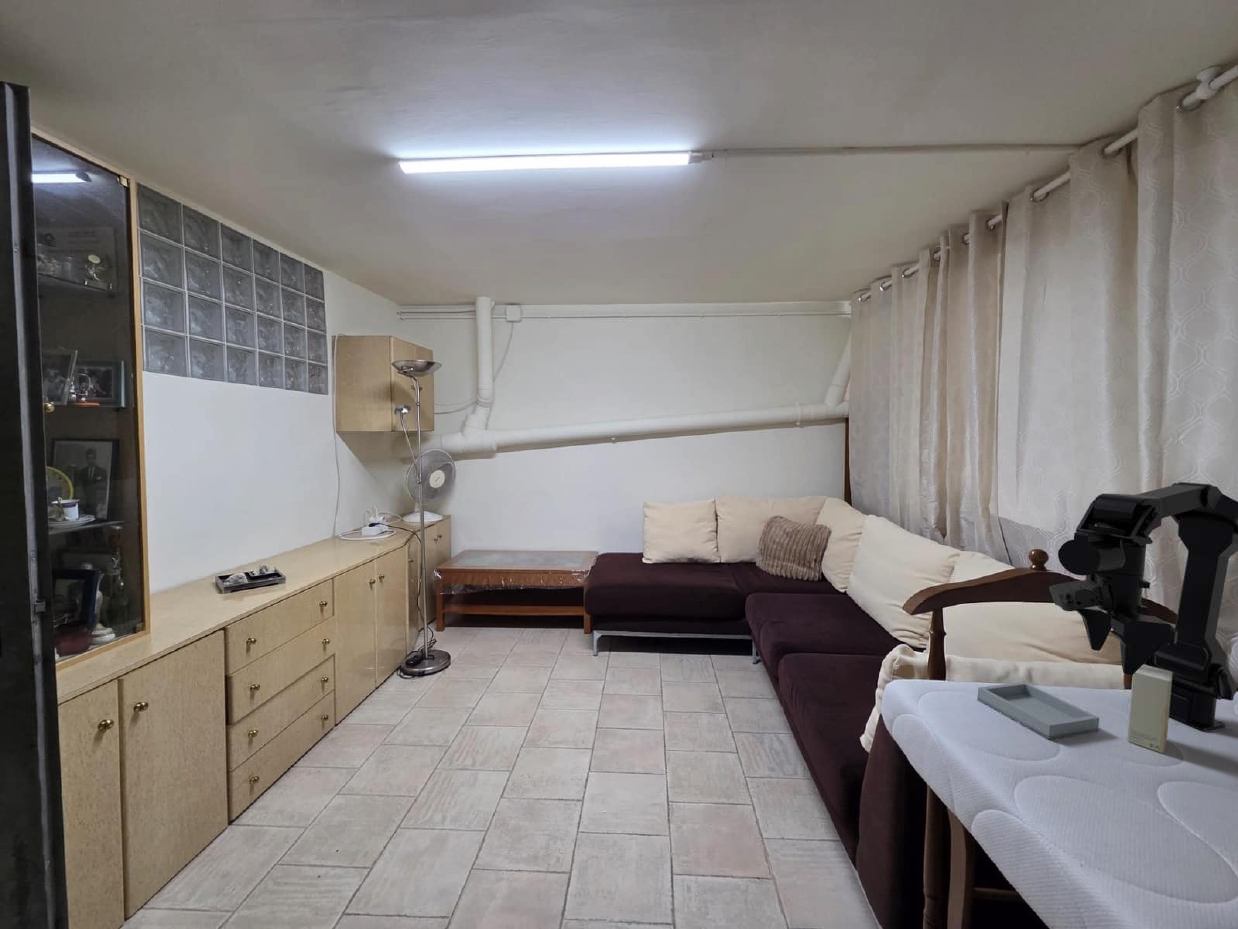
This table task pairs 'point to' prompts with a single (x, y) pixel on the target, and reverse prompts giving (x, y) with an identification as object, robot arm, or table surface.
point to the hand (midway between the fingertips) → (1110, 661)
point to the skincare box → (1150, 707)
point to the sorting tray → (1038, 710)
